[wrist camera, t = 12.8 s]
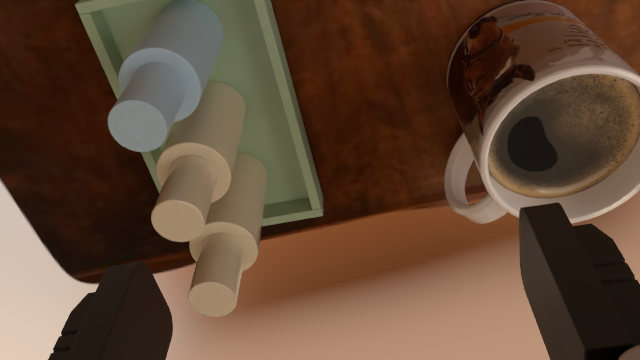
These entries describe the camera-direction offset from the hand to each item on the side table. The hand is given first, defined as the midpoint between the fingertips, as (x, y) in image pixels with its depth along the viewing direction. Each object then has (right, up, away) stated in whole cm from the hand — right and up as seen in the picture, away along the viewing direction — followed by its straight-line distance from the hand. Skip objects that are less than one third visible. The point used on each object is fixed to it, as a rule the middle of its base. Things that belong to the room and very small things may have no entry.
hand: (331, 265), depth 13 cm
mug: (+12, +9, +29) cm, 32 cm away
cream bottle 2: (-6, +2, +32) cm, 33 cm away
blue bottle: (-9, +12, +26) cm, 30 cm away
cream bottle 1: (-8, +7, +29) cm, 31 cm away
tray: (-8, +7, +30) cm, 32 cm away
